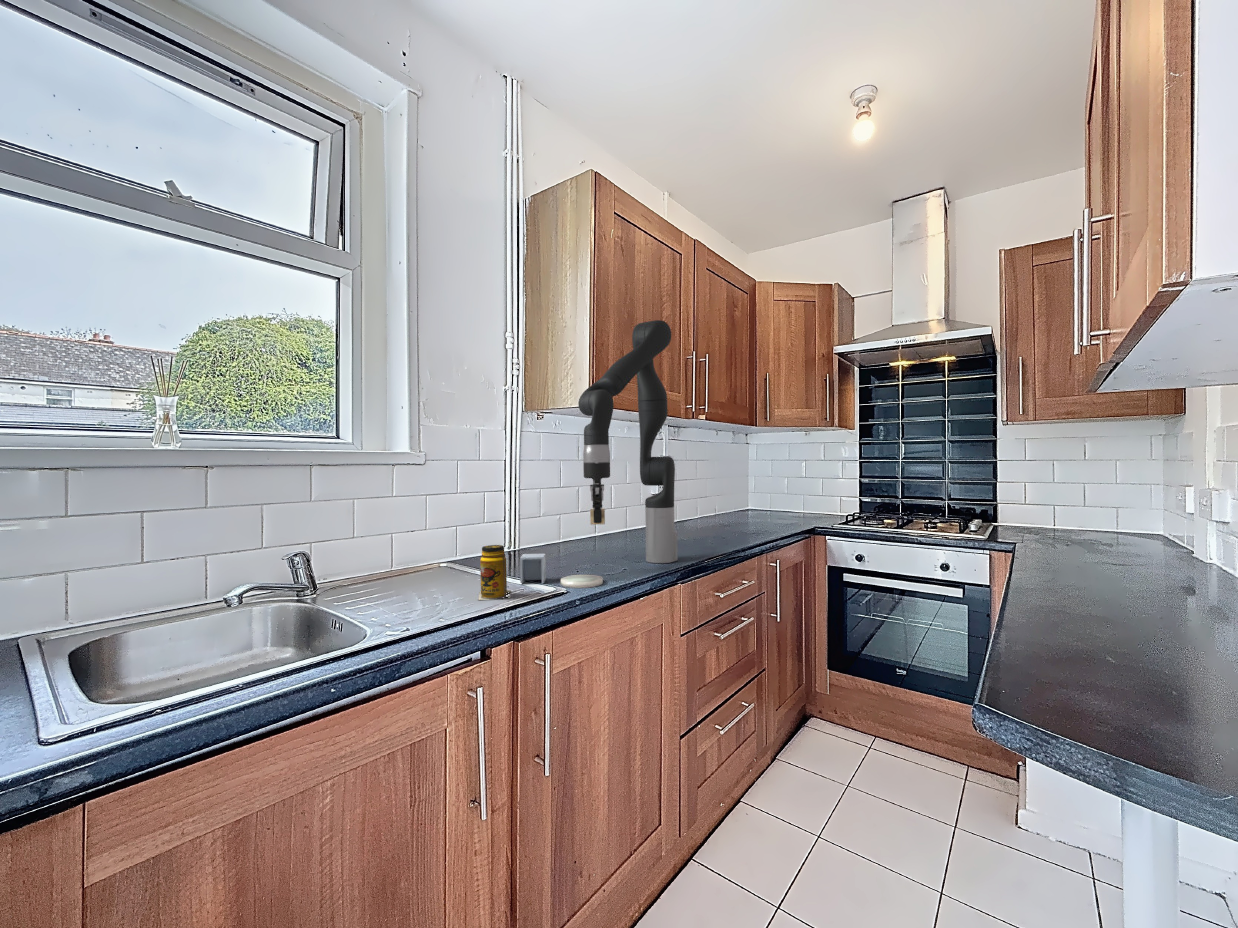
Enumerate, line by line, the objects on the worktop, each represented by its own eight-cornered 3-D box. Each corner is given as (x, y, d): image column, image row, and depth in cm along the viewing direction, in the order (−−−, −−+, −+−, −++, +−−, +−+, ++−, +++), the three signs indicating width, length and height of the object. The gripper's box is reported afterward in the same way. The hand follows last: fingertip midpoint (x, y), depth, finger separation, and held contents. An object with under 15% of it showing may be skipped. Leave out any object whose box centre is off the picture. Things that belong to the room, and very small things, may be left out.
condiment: (478, 600, 129) (477, 548, 129) (479, 592, 137) (479, 543, 137) (510, 598, 130) (509, 547, 130) (510, 590, 138) (509, 542, 138)
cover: (523, 579, 151) (523, 553, 151) (545, 579, 152) (545, 553, 152) (520, 584, 145) (520, 557, 145) (543, 583, 146) (543, 557, 146)
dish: (589, 577, 153) (589, 572, 153) (610, 584, 144) (610, 579, 144) (553, 582, 147) (553, 577, 147) (573, 589, 138) (573, 584, 138)
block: (590, 522, 159) (590, 508, 159) (604, 522, 159) (604, 508, 159) (590, 524, 155) (590, 510, 155) (604, 524, 155) (604, 509, 155)
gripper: (583, 461, 164) (584, 519, 164) (582, 461, 150) (583, 525, 150) (609, 460, 164) (610, 519, 165) (610, 461, 150) (611, 524, 150)
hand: (597, 521), depth 157 cm, fingers closed on block, 4 cm apart
